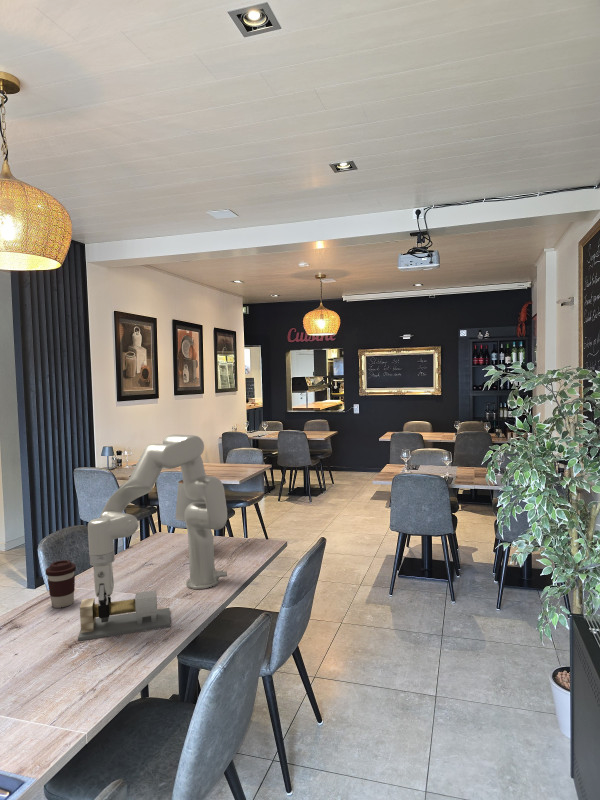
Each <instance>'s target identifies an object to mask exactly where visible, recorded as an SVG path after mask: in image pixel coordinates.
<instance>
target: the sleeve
mask: <svg viewBox="0 0 600 800" xmlns="http://www.w3.org/2000/svg"><path fill="white" fill-rule="evenodd" d="M134 599H135V608H136V612H135V613H136V618H137V624H141V623H142V622H143V617H146V616H151V622H155V621H157V609H158V602H157V601H158V600H157V590H155V589H154V590H149V591H140V592H135V597H134Z"/></svg>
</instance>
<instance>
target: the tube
mask: <svg viewBox="0 0 600 800" xmlns="http://www.w3.org/2000/svg"><path fill="white" fill-rule="evenodd" d="M109 597H110V596H109V595H108V604H109V611H110V616H115V615H122V614H129V613H136V608H135V598H130V599H124V600H123V599H122V600H117V601H111V602H109ZM104 599H106V597H104ZM98 605H99V603H95V604H94V605H93V618H99V612H98ZM108 620H109V617H105V618H101V623H103V622H108Z"/></svg>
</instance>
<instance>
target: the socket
mask: <svg viewBox="0 0 600 800" xmlns="http://www.w3.org/2000/svg"><path fill="white" fill-rule="evenodd" d="M94 604H96V602H95V598H94V597H93V598H85V599H82V600H81V602H80V606H79V617H80V618H79V619H80V630H81V633H84V632H91V631H94V627H95V623H96V618H97V617H96V618H93V605H94Z"/></svg>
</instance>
